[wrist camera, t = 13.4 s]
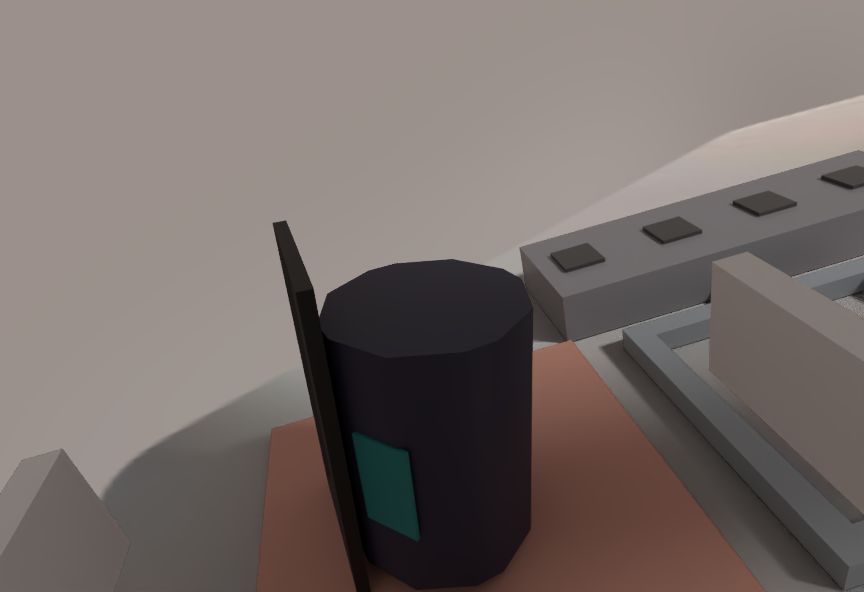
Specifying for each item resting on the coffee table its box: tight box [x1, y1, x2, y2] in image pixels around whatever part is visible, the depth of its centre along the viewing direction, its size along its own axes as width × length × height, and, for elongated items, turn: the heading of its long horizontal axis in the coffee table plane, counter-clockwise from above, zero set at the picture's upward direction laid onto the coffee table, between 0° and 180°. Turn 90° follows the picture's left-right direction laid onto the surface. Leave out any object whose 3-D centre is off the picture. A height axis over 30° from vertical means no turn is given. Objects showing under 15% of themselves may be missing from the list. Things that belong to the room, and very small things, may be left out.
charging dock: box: [520, 150, 864, 590], centre depth 23 cm, size 20×20×3 cm
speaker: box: [273, 221, 533, 592], centre depth 17 cm, size 8×6×10 cm
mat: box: [256, 340, 766, 592], centre depth 19 cm, size 14×14×1 cm
